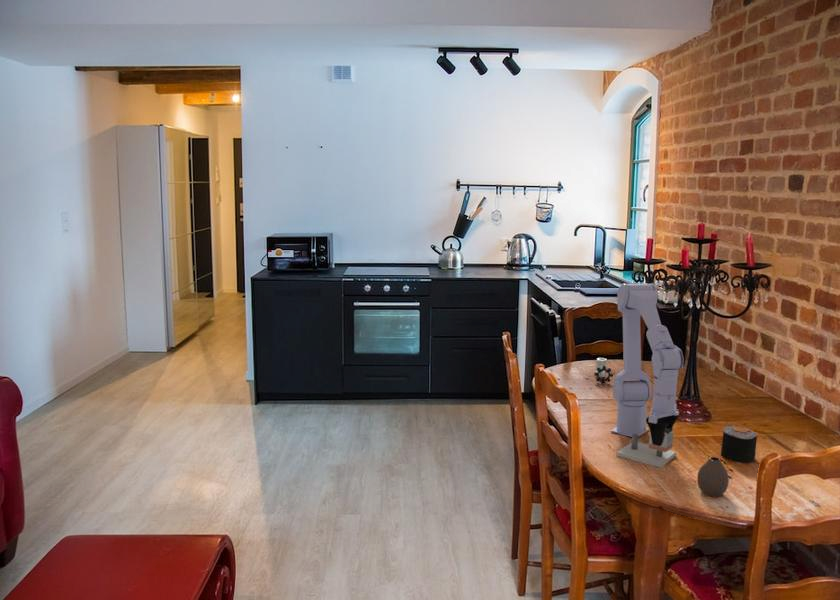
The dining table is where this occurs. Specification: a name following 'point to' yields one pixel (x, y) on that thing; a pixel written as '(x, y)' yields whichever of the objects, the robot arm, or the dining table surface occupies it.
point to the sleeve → (666, 441)
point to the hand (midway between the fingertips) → (660, 442)
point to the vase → (713, 478)
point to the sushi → (739, 444)
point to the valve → (602, 370)
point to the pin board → (645, 453)
